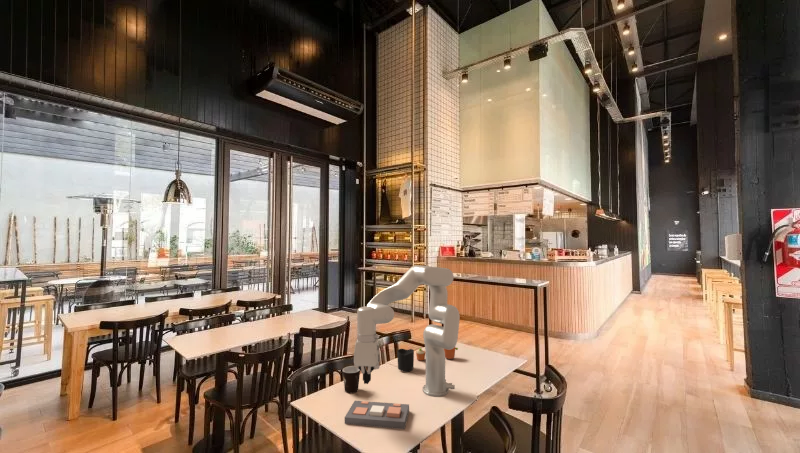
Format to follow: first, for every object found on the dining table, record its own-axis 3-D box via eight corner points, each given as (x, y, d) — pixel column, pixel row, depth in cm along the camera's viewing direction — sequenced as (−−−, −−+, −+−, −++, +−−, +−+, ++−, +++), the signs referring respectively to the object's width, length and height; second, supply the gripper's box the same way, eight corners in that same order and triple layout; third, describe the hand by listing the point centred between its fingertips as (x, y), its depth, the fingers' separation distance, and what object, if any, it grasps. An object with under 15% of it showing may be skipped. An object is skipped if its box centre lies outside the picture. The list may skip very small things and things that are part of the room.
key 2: (401, 412, 140) (401, 407, 140) (399, 418, 135) (399, 413, 135) (389, 411, 141) (389, 406, 141) (386, 417, 136) (386, 412, 136)
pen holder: (404, 373, 186) (404, 354, 186) (394, 368, 193) (393, 350, 194) (417, 369, 192) (417, 351, 192) (406, 364, 199) (406, 347, 199)
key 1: (368, 412, 142) (367, 407, 142) (364, 419, 137) (364, 414, 137) (356, 411, 143) (356, 407, 143) (352, 418, 138) (352, 413, 138)
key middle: (384, 411, 141) (384, 406, 141) (381, 417, 136) (381, 412, 136) (372, 410, 142) (372, 405, 142) (369, 416, 137) (369, 411, 137)
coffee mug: (343, 386, 170) (343, 366, 170) (360, 386, 171) (360, 365, 171) (341, 397, 158) (341, 375, 159) (359, 396, 159) (359, 375, 159)
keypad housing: (409, 411, 145) (409, 403, 146) (404, 430, 132) (404, 421, 132) (354, 407, 149) (354, 399, 149) (344, 425, 135) (344, 416, 135)
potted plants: (444, 350, 224) (443, 335, 224) (460, 357, 211) (460, 341, 212) (411, 358, 210) (411, 342, 210) (427, 366, 197) (427, 349, 197)
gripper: (386, 335, 143) (386, 379, 143) (351, 334, 146) (352, 377, 145) (382, 341, 136) (382, 387, 135) (346, 339, 138) (346, 385, 138)
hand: (366, 382), depth 140 cm, fingers closed
